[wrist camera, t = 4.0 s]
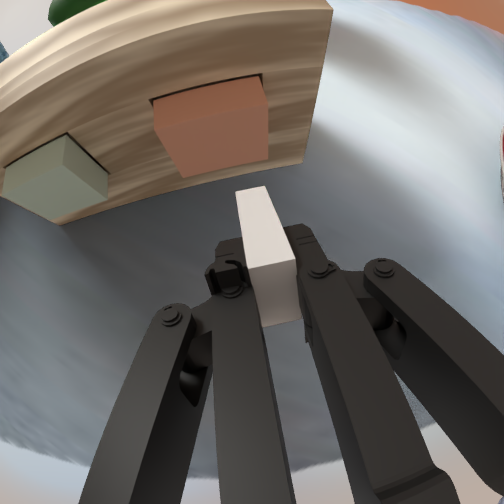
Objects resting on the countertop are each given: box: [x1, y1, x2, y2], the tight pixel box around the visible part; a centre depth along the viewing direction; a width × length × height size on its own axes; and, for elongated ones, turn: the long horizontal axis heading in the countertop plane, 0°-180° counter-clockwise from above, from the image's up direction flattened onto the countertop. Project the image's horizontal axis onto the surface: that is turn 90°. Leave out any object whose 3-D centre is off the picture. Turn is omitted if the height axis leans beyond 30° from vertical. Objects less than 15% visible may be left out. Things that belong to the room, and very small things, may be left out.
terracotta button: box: [153, 76, 268, 178], centre depth 22 cm, size 3×8×8 cm, turn 102°
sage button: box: [2, 135, 108, 220], centre depth 22 cm, size 3×8×8 cm, turn 102°
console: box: [0, 0, 333, 226], centre depth 25 cm, size 10×34×22 cm, turn 102°
